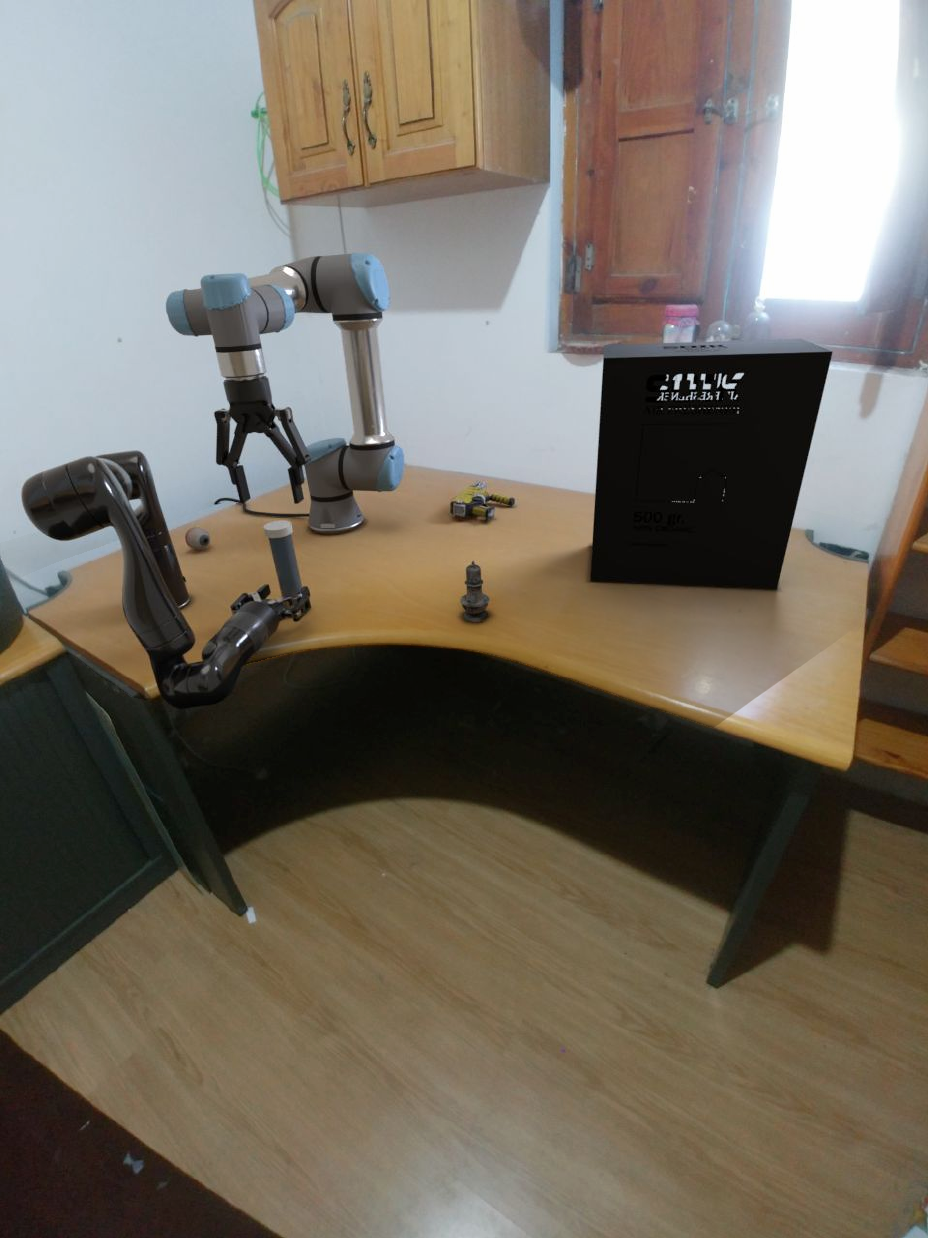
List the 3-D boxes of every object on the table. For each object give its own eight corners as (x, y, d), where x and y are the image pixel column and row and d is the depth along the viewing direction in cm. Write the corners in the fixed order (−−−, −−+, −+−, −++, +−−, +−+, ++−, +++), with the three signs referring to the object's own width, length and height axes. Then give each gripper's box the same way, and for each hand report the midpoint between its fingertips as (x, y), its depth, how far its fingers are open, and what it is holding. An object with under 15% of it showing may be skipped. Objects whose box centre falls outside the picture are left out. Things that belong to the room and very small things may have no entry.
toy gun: (523, 485, 181) (476, 478, 185) (501, 509, 161) (448, 500, 165) (521, 500, 184) (475, 493, 187) (499, 525, 163) (447, 517, 167)
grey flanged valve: (487, 623, 118) (485, 567, 112) (458, 621, 119) (454, 566, 113) (492, 608, 123) (490, 554, 117) (464, 607, 124) (461, 553, 118)
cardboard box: (756, 549, 141) (800, 338, 118) (776, 589, 124) (832, 351, 101) (592, 544, 148) (604, 344, 126) (590, 580, 131) (603, 357, 109)
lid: (289, 537, 116) (287, 529, 115) (262, 538, 116) (260, 530, 115) (295, 527, 120) (293, 519, 119) (269, 528, 120) (267, 520, 119)
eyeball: (199, 555, 155) (192, 533, 152) (183, 551, 158) (177, 529, 155) (218, 547, 159) (212, 525, 156) (203, 543, 162) (197, 522, 159)
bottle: (304, 616, 125) (286, 530, 115) (283, 617, 125) (263, 532, 115) (308, 605, 129) (291, 522, 119) (288, 606, 129) (269, 523, 119)
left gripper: (280, 614, 105) (317, 573, 119) (207, 610, 108) (251, 571, 122) (288, 650, 109) (323, 606, 123) (217, 645, 112) (259, 603, 126)
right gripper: (315, 371, 105) (336, 494, 116) (196, 375, 109) (227, 494, 120) (298, 378, 98) (321, 508, 109) (172, 382, 102) (207, 507, 113)
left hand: (287, 589), depth 122 cm, fingers open, 8 cm apart
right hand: (272, 501), depth 115 cm, fingers open, 10 cm apart
